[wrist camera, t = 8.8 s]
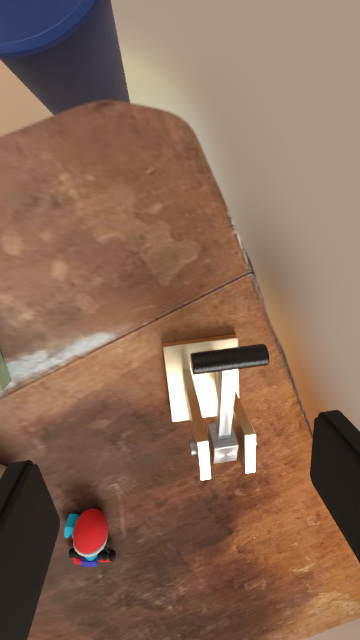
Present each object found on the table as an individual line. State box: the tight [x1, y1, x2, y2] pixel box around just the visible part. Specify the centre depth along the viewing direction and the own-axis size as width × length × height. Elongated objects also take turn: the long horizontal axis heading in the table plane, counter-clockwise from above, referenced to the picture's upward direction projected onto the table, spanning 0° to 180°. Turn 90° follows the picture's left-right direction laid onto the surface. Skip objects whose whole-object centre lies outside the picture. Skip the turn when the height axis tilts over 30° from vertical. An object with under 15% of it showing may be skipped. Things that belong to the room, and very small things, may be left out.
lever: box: [190, 344, 269, 463], centre depth 22 cm, size 13×5×2 cm, turn 6°
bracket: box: [163, 334, 257, 480], centre depth 29 cm, size 11×9×13 cm
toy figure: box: [64, 508, 116, 567], centre depth 42 cm, size 8×5×15 cm
